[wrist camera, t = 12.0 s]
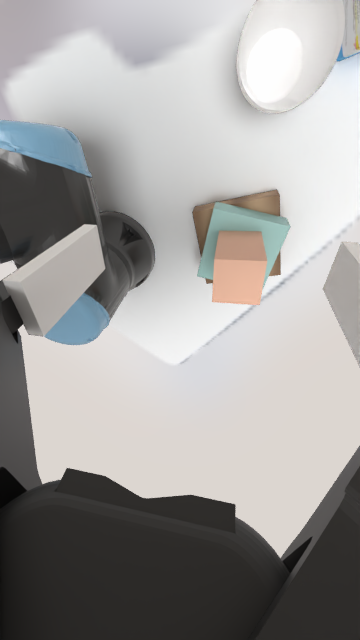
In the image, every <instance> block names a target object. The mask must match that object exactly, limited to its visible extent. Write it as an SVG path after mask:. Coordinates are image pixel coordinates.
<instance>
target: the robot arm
mask: <svg viewBox="0 0 360 640" xmlns="http://www.w3.org/2000/svg"><path fill="white" fill-rule="evenodd" d="M91 178H92V175H91V173H90V172H89V170H88V167H87V163H86V160H85V156H84V153H83V150H82V146H81V143H80V141H79V140H78V138H77V137H76V136H75V135H74V134H73V133H72V132H71V131H69V130H67V129H65V128H62V127H58V126H53V125H46V124H39V123H30V122H20V121H6V120H0V264H1V263H4V262H8V261H11V260H13V261H14V263H15V265H16V267H17V270H16V271H14V272H13V273H12V274H10V275H8V276H7V277H6V278H4V279H3V280H1V281H0V640H360V446H359V447H358V449H357V451H356V452H355V453H354V455H353V456H352V458H351V459H350V461H349V462H348V464H347V465H346V467H345V468H344V469H343V471H342V472H341V474H340V475H339V477H338V478H337V480H336V481H335V483H334V484H333V486H332V487H331V488H330V490H329V491H328V493H327V494H326V496H325V497H324V499H323V500H322V502H321V503H320V505H319V506H318V508H317V509H316V511H315V512H314V514H313V515H312V516H311V518H310V519H309V521H308V522H307V524H306V525H305V527H304V528H303V529H302V531H301V532H300V534H299V535H298V536H297V537H296V538H295V540H294V541H293V542H292V543H291V545H290V546H289V547H288V549H287V550H286V551H285V553H284V554H283V556H282V557H281V558H279V556H278V555H277V553H276V552H275V551H274V549H273V548H272V547H271V546H270V545H269V544H268V543H267V541H266V540H265V539H264V538H263V537H262V536H261V535H260V534H259V533H257V532H256V531H255V530H254V529H253V528H251V527H250V526H249V525H248V524H246V523H245V522H243V521H242V520H240V519H238V518H236V517H235V504H231V503H226V502H222V501H217V500H212V499H208V498H203V497H199V496H194V495H184V496H172V497H161V498H149V499H146V498H142V497H139V496H138V495H136V494H134V493H133V492H131V491H129V490H128V489H126V488H124V487H122V486H121V485H119V484H118V483H116V482H114V481H112V480H111V479H109V478H107V477H106V476H102V475H97V474H93V473H88V472H83V471H79V470H74V469H70V468H67V469H66V471H65V473H64V475H63V477H62V479H61V480H57V481H53V482H48V483H45V484H42V482H41V479H40V477H39V474H38V470H37V464H36V456H35V448H34V440H33V432H32V424H31V416H30V407H29V399H28V391H27V383H26V375H25V367H24V359H23V350H22V342H21V336H20V334H19V332H18V329H19V328H20V327H21V326H22V325H23V324H24V326H25V329H26V330H27V332H28V334H29V335H35V336H44V337H46V338H48V339H50V340H52V341H55V342H58V343H62V344H67V345H82V344H87V343H89V342H91V341H93V340H94V339H96V338H97V337H98V336H99V335H100V333H101V332H102V331H103V329H105V328H106V327H107V326H108V325H109V322H110V320H111V318H112V316H113V315H114V313H115V311H116V310H117V308H118V307H119V305H120V303H121V302H122V300H123V298H124V297H125V295H126V294H127V292H128V291H130V290H132V289H134V288H135V287H137V286H139V285H141V284H142V283H143V282H144V281H145V280H146V279H147V277H148V276H149V274H150V272H151V271H152V269H153V266H154V261H155V252H154V247H153V244H152V241H151V239H150V237H149V235H148V234H147V232H146V231H145V230H144V228H143V227H142V226H141V225H140V224H139V223H138V222H136V221H135V220H134V219H132V218H130V217H129V216H127V215H124V214H121V213H118V212H102V213H99V210H98V206H97V202H96V197H95V193H94V189H93V184H92V180H91ZM323 291H324V293H325V295H326V297H327V299H328V301H329V303H330V305H331V307H332V310H333V312H334V314H335V316H336V318H337V320H338V322H339V324H340V326H341V328H342V331H343V333H344V335H345V337H346V339H347V341H348V343H349V346H350V347H351V350H352V352H353V354H354V356H355V358H356V360H357V362H358V365H359V367H360V244H359V243H352V242H341V245H340V247H339V250H338V252H337V255H336V257H335V260H334V262H333V265H332V267H331V270H330V272H329V275H328V277H327V280H326V282H325V285H324V287H323Z"/></svg>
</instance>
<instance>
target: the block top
mask: <svg viewBox="0 0 360 640" xmlns="http://www.w3.org/2000/svg"><path fill="white" fill-rule="evenodd" d="M289 229H290V224H289V222H288V220H287V218H284V217H280V216H276V215H271V214H267V213H263V212H259V211H254V210H250V209H246V208H242V207H237V206H233V205H229V204H225V203H220V202H215V205H214V209H213V213H212V217H211V221H210V225H209V229H208V233H207V238H206V242H205V246H204V250H203V254H202V258H201V262H200V266H199V270H198V274H197V276H199V277H203V278H207V279H211V280H213V274H214V257H215V251H216V246H217V240H218V234H219V230H220V231H261V232H262V237H263V242H264V247H265V252H266V257H267V266H266V272H265V277H264V283H263V287H264V285H265V283H266V280H267V278H268V276H269V274H270V272H271V269H272V267H273V265H274V263H275V260H276V258H277V256H278V254H279V251H280V249H281V247H282V245H283V242H284V240H285V238H286V236H287V233H288V231H289ZM262 289H263V288H262Z"/></svg>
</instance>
